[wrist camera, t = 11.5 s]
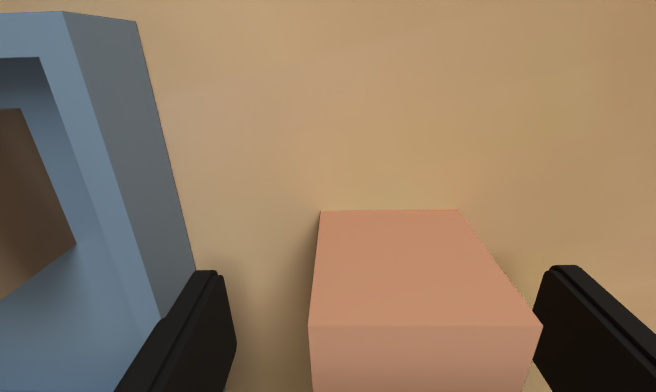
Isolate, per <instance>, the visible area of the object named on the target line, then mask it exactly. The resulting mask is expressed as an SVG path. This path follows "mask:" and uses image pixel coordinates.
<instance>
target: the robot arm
mask: <svg viewBox="0 0 656 392" xmlns="http://www.w3.org/2000/svg"><path fill="white" fill-rule="evenodd" d="M532 311H533V313H534V314H535V316H536V317H537V318H538V320H539V321H540V322H541V324H542V325H543V328H542V332H541V335H540V338H539V341H538V344H537V347H536V350H535V353H534V356H533V359H532V360H533V361H534V363H535V365H536V366H537V368H538V369H539V371H540V372H541V374H542V376H543V377H544V379H545V380H546V382H547V383H548V385H549V387H550V388H551V390H552V391H553V392H656V334H655V333H654V332H652V331H651V330H650V329H649V328H648V327H647V326H646V325H645V324H643V323H642V322H641V321H640V320H639V319H638V318H637V317H636V316H634V315H633V314H632V313H631V312H630V311H629V310H628V309H627V308H625V307H624V306H623V305H622V304H621V303H620V302H619V301H618V300H616V299H615V298H614V297H613V296H612V295H611V294H610V293H609V292H607V291H606V290H605V289H604V288H603V287H602V286H601V285H600V284H598V283H597V282H596V281H595V280H594V279H593V278H592V277H591V276H589V275H588V274H587V273H586V272H585V271H584V270H583V269H582V268H580V267H579V266H576V265H554V266H552V267H551V268H550V269H549V271H546V272H545V273H544V275H543V278H542V281H541V285H540V288H539V291H538V294H537V297H536V301H535V304H534V307H533V310H532ZM236 346H237V341H236V336H235V331H234V326H233V321H232V316H231V311H230V306H229V302H228V297H227V292H226V287H225V282H224V278H223V276H222V275H218V274H217V272H216V271H215V270H196V271H194V272H193V274H192V275H191V277H190V278H189V280H188V282H187V283H186V285H185V286H184V288H183V290H182V291H181V293H180V295H179V296H178V298H177V299H176V301H175V303H174V304H173V306H172V307H171V309H170V311H169V312H168V314H167V315H166V317H165V318H162V319H161V320H159V322H158V323H157V324H156V325H155V327H154V329H153V330H152V332H151V333H150V335H149V336H148V338H147V339H146V341H145V343H144V344H143V346H142V347H141V349H140V350H139V352H138V354H137V355H136V357H135V358H134V360H133V361H132V363H131V365H130V366H129V368H128V369H127V371H126V372H125V374H124V375H123V377H122V379H121V380H120V382H119V383H118V385H117V386H116V388H115V390H114V391H113V392H223V390H224V387H225V384H226V381H227V378H228V375H229V371H230V368H231V365H232V362H233V359H234V356H235V352H236Z"/></svg>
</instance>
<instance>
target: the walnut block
mask: <svg viewBox="0 0 656 392" xmlns="http://www.w3.org/2000/svg"><path fill="white" fill-rule="evenodd" d="M76 244H77V243H76V240H75V238H74V236H73V233H72V231H71V228H70V226H69V224H68V221H67V219H66V216H65V214H64V212H63V209H62V207H61V204H60V202H59V200H58V197H57V195H56V192H55V190H54V188H53V185H52V183H51V180H50V178H49V175H48V173H47V171H46V168H45V166H44V163H43V161H42V159H41V156H40V154H39V151H38V149H37V147H36V144H35V142H34V139H33V137H32V135H31V132H30V130H29V127H28V125H27V123H26V120H25V118H24V115H23V113H22V111H21V108H10V109H0V300H2V299H3V298H4V297H6V296H7V295H8V294H10V293H11V292H12V291H14V290H15V289H17V288H18V287H19V286H21V285H22V284H23V283H25V282H26V281H27V280H29V279H30V278H31V277H33V276H34V275H36V274H37V273H38V272H40V271H41V270H42V269H44V268H45V267H46V266H48V265H49V264H50V263H52V262H53V261H54V260H56V259H57V258H59V257H60V256H61V255H63V254H64V253H65V252H67V251H68V250H69V249H71V248H72V247H73V246H75V245H76Z"/></svg>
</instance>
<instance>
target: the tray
mask: <svg viewBox="0 0 656 392" xmlns="http://www.w3.org/2000/svg"><path fill="white" fill-rule="evenodd" d="M10 108H21V111H22V113H23V115H24V118H25V120H26V123H27V125H28V127H29V130H30V132H31V135H32V137H33V139H34V142H35V144H36V147H37V149H38V151H39V154H40V156H41V159H42V161H43V163H44V166H45V168H46V171H47V173H48V175H49V178H50V180H51V183H52V185H53V188H54V190H55V192H56V195H57V197H58V200H59V202H60V204H61V207H62V209H63V212H64V214H65V216H66V219H67V221H68V224H69V226H70V228H71V231H72V233H73V236H74V238H75V240H76V243H77V244H76V245H75V246H73V247H72V248H71V249H69V250H68V251H67V252H65V253H64V254H63V255H61V256H60V257H59V258H57V259H56V260H54V261H53V262H52V263H50V264H49V265H48V266H46V267H45V268H44V269H42V270H41V271H40V272H38V273H37V274H36V275H34V276H33V277H31V278H30V279H29V280H27V281H26V282H25V283H23V284H22V285H21V286H19V287H18V288H17V289H15V290H14V291H12V292H11V293H10V294H8V295H7V296H6V297H4V298H3V299H2V300H0V392H113V391H114V390H115V388H116V386H117V385H118V383H119V382H120V380H121V379H122V377H123V375H124V374H125V372H126V371H127V369H128V368H129V366H130V365H131V363H132V361H133V360H134V358H135V357H136V355H137V354H138V352H139V350H140V349H141V347H142V346H143V344H144V343H145V341H146V339H147V338H148V336H149V335H150V333H151V332H152V330H153V329H154V327H155V325H156V324H157V323H158V322H159V320H161V319H162V318H165V317H166V315H167V314H168V312H169V311H170V309H171V307H172V306H173V304H174V303H175V301H176V299H177V298H178V296H179V295H180V293H181V291H182V290H183V288H184V286H185V285H186V283H187V282H188V280H189V278H190V277H191V275H192V274H193V272H194V271H196V268H195V264H194V260H193V256H192V252H191V248H190V244H189V240H188V235H187V231H186V227H185V223H184V219H183V215H182V211H181V207H180V203H179V198H178V194H177V190H176V186H175V182H174V178H173V174H172V170H171V166H170V161H169V157H168V153H167V149H166V145H165V141H164V137H163V133H162V129H161V124H160V120H159V116H158V112H157V108H156V104H155V100H154V96H153V92H152V87H151V83H150V79H149V75H148V71H147V67H146V63H145V59H144V55H143V50H142V46H141V42H140V38H139V34H138V30H137V26H136V22H135V21H129V20H122V19H115V18H108V17H101V16H94V15H86V14H79V13H72V12H65V11H50V12H24V13H0V109H10ZM223 392H225V388H224V390H223Z"/></svg>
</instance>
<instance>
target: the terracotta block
mask: <svg viewBox="0 0 656 392" xmlns="http://www.w3.org/2000/svg"><path fill="white" fill-rule="evenodd" d="M542 328H543V325H542V324H541V322H540V321H539V320H538V318H537V317H536V316H535V314H534V313H533V311H532V310H531V309H530V307H529V306H528V305H527V303H526V302H525V301H524V299H523V298H522V297H521V295H520V294H519V292H518V291H517V290H516V288H515V287H514V286H513V284H512V283H511V282H510V280H509V279H508V278H507V276H506V275H505V273H504V272H503V271H502V269H501V268H500V267H499V265H498V264H497V263H496V261H495V260H494V259H493V257H492V256H491V254H490V253H489V252H488V250H487V249H486V248H485V246H484V245H483V244H482V242H481V241H480V240H479V238H478V237H477V236H476V234H475V233H474V231H473V230H472V229H471V227H470V226H469V225H468V223H467V222H466V221H465V219H464V218H463V217H462V215H461V214H460V212H459V211H458V210H457V209H417V210H343V211H321V214H320V223H319V232H318V241H317V249H316V258H315V267H314V275H313V284H312V293H311V302H310V310H309V319H308V336H309V348H310V361H311V374H312V387H313V392H522V389H523V386H524V383H525V380H526V377H527V374H528V371H529V368H530V365H531V362H532V359H533V356H534V353H535V350H536V347H537V344H538V341H539V338H540V335H541V332H542Z"/></svg>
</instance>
